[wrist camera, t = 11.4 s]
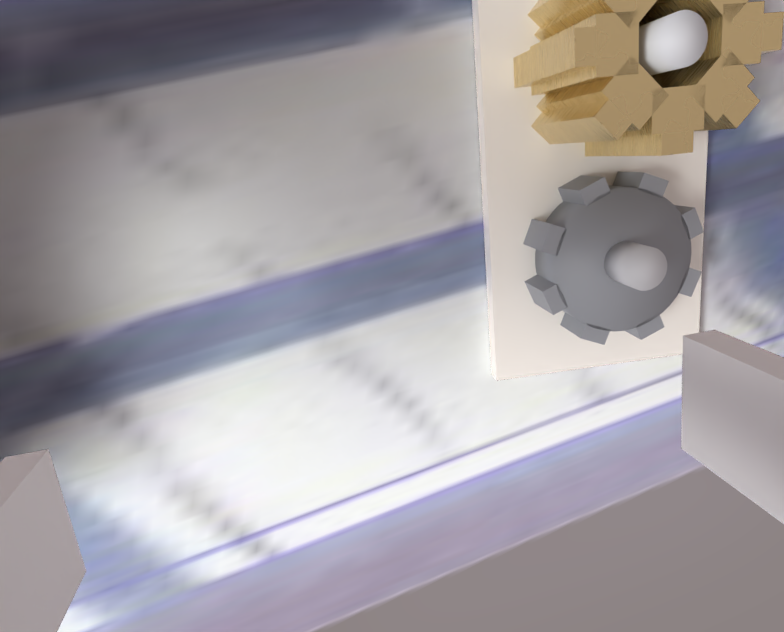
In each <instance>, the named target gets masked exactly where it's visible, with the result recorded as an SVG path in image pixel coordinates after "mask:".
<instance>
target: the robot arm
mask: <svg viewBox="0 0 784 632" xmlns="http://www.w3.org/2000/svg"><path fill="white" fill-rule="evenodd" d="M681 449H682V450H684V451H685V452H686V453H688V454H689V455H691V456H692V457H693V458H695V459H696V460H697V461H699V462H700V463H701V464H703V465H704V466H706V467H707V468H708V469H710V470H711V471H712V472H714V473H715V474H716V475H718V476H719V477H720V478H722V479H723V480H725V481H726V482H727V483H729V484H730V485H731V486H733V487H734V488H735V489H737V490H738V491H740V492H741V493H742V494H744V495H745V496H746V497H748V498H749V499H750V500H752V501H753V502H755V503H756V504H757V505H759V506H760V507H761V508H763V509H764V510H766V511H767V512H768V513H769V514H771V515H772V516H773V517H775V518H776V519H778V520H779V521H780V522H782V523H783V524H784V357H781V356H779V355H776V354H774V353H771V352H769V351H766V350H764V349H761V348H759V347H756V346H754V345H751V344H749V343H746V342H744V341H741V340H739V339H736V338H734V337H731V336H729V335H726V334H724V333H721V332H719V331H716V330H711V331H705V332H700V333H694V334H689V335H683V358H682V424H681ZM85 573H86V569H85V566H84V562H83V559H82V556H81V553H80V549H79V546H78V543H77V540H76V536H75V533H74V530H73V527H72V524H71V520H70V517H69V514H68V511H67V507H66V504H65V501H64V498H63V494H62V491H61V488H60V485H59V481H58V478H57V475H56V472H55V469H54V465H53V462H52V459H51V456H50V452H49V449H47V450H41V451H36V452H30V453H24V454H19V455H13V456H8V457H5V458H4V459H3V460H2V461H1V462H0V632H57V631H58V629H59V627H60V624H61V622H62V620H63V618H64V616H65V614H66V612H67V610H68V608H69V606H70V604H71V602H72V600H73V598H74V596H75V593H76V591H77V589H78V587H79V585H80V583H81V581H82V579H83V577H84V575H85Z"/></svg>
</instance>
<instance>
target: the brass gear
mask: <svg viewBox="0 0 784 632" xmlns="http://www.w3.org/2000/svg"><path fill="white" fill-rule="evenodd" d="M748 1H749V0H539V1H538V2H537V3H536V4H535V6H534V7H533V8H532V9H531V11H530V12H529V13H528V14H527V15H528V16H529V17H530V18H531V19H532V20H533V21H534V22H535V23H536V24H537V25H538V26H539V27H540V28H539V29H538V30H537V32H536V33H535V34H534V35H535V36H536V37H537V38H538V39H539V40H540V42H539V43H537V44H535V45H533V46H531V47H530V50H528V51H526V52H524V53H522V54H520V55H518V56H516V57H514V58H513V63H514V88H519V87H531V95H532V96H533V95H544V94H546V95H545V96H544V97H543V98H542V100H541V101H540V102H539V103H538V105H537V106H536V107H537V108H538V109H539V110H540V111H541V112H542V113H541V114H540V115H539V117H538V118H537V119H536V120H535V122H534V123H533V124H532V125H531V127H532V128H533V129H534V130H535V131H536V132H537V133H539V134H540V135H541V136H542V137H543V138H544V139H545V140H546V141H547V142H548V143H549V144H564V143H581V142H585V156H664V155H673V154H683V153H692V152H693V138H694V131H706V130H720V129H734V128H737V127H738V126H739V125H740V124H741V122H742V121H743V120H744V119H745V118H746V117H747V116H748V114H749V113H750V112H751V111H752V110H753V109H754V107H755V106H756V105H757V104H758V103H759V102H760V100H759V99H758V98H757V97H756V96H755V95H754V93H753V92H752V91H751V90H750V89H749V88H748V87H747V86H748V85H749V84H750V82H751V81H752V80H753V79H754V78H755V77H754V76H753V75H752V74H751V73H750V72H749V70H748V69H747V68H746V67H745V66H749V65H753V64H758V63H761V54H764V53H769V52H773V51H777V50H781V46H782V32H783V18H784V12H773V13H764V2H765V1H759V2H748ZM680 10H691V11H694V12H696V13H697V14H699V15H700V16H701V17H702V18H703V20H704V22H705V24H706V26H707V31H708V41H707V45H706V48H705V51H704V52H703V54H702V56H701V57H700V58H699V59H698V60H697V61H696V62H695V63H694V64H692V65H690V66H688V67H684V68H680V69H676V70H672V71H667V72H663V73H659V74H655V75H650V74H649V73H648V72H647V71H646V70H645V69H644V68H643V67H642V66H641V65H640V64H639V26H642V25H644V24H647V23H649V22H652V21H654V20H657V19H659V18H662V17H664V16H667V15H669V14H672V13H675V12H677V11H680Z"/></svg>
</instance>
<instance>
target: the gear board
mask: <svg viewBox="0 0 784 632" xmlns="http://www.w3.org/2000/svg"><path fill="white" fill-rule="evenodd" d="M538 1H539V0H472V14H473V33H474V52H475V72H476V91H477V110H478V129H479V148H480V167H481V186H482V206H483V225H484V244H485V263H486V282H487V301H488V320H489V340H490V359H491V375H492V376H493V377H494V378H495V379H496V380H497V381H498V380H505V379H512V378H519V377H526V376H533V375H540V374H547V373H554V372H562V371H569V370H576V369H583V368H590V367H597V366H604V365H611V364H618V363H625V362H632V361H639V360H646V359H653V358H660V357H667V356H674V355H681V354H683V335H689V334H694V333H699V322H700V301H701V279H702V257H703V235H704V213H705V191H706V170H707V148H708V130H706V131H694V138H693V152H692V153H683V154H673V155H664V156H585V142H581V143H564V144H549V143H548V142H547V141H546V140H545V139H544V138H543V137H542V136H541V135H540V134H539V133H537V132H536V131H535V130H534V129H533V128H532V127H531V125H532V124H533V123H534V122H535V120H536V119H537V118H538V117H539V115H540V114H541V113H542V112H541V111H540V110H539V109H538V108H537V107H536V106H537V105H538V103H539V102H540V101H541V100H542V98H543V97H544V96H545V95H546V94H544V95H533V96H532V95H531V87H519V88H514V63H513V58H514V57H516V56H518V55H520V54H522V53H524V52H526V51H528V50H530V47H531V46H533V45H535V44H537V43H539V42H540V40H539V39H538V38H537V37H536V36H535V35H534V34H535V33H536V32H537V30H538V29H539V28H540V27H539V26H538V25H537V24H536V23H535V22H534V21H533V20H532V19H531V18H530V17H529V16H528V15H527V14H528V13H529V12H530V11H531V9H532V8H533V7H534V6H535V4H536V3H537V2H538ZM707 41H708V31H707V26H706V24H705V22H704V20H703V18H702V17H701V16H700V15H699V14H697V13H696V12H694V11H691V10H680V11H677V12H675V13H672V14H669V15H667V16H664V17H662V18H659V19H657V20H654V21H652V22H649V23H647V24H644V25H642V26H639V64H640V65H641V66H642V67H643V68H644V69H645V70H646V71H647V72H648V73H649V74H650V75H655V74H659V73H663V72H667V71H672V70H676V69H680V68H684V67H688V66H690V65H692V64H694V63H695V62H696V61H697V60H698V59H699V58H700V57H701V56H702V54H703V52H704V51H705V48H706V45H707Z"/></svg>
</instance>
